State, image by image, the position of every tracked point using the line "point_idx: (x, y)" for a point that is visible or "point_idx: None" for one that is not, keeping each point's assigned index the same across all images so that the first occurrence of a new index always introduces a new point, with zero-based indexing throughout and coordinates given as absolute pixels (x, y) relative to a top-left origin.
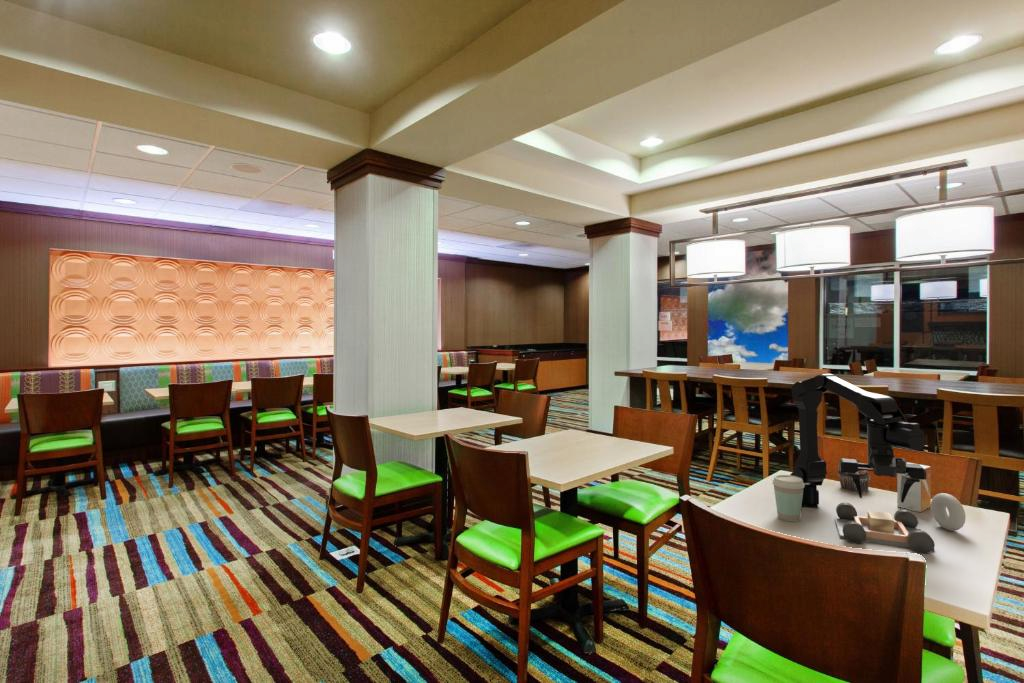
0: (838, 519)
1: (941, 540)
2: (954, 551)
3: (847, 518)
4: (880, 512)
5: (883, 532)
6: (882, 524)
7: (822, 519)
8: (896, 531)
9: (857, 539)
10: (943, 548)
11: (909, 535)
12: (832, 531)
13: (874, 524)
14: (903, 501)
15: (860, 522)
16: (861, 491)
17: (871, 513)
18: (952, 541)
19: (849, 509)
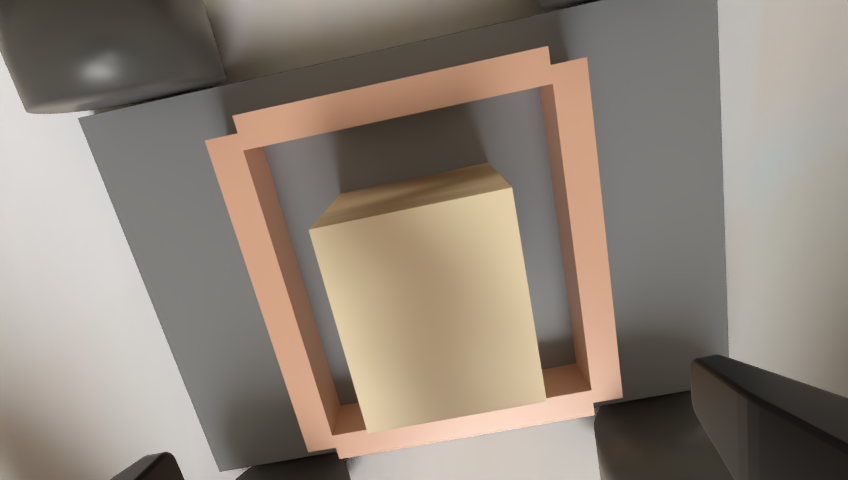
0: None
1: (105, 371)
2: (2, 205)
3: (649, 404)
4: (438, 413)
5: (399, 110)
6: (410, 197)
7: (799, 350)
8: (338, 334)
9: None
10: (65, 223)
11: (176, 29)
12: (749, 118)
13: (474, 181)
14: (133, 464)
15: (576, 268)
16: (778, 415)
17: (511, 333)
18: (54, 390)
19: (670, 458)
